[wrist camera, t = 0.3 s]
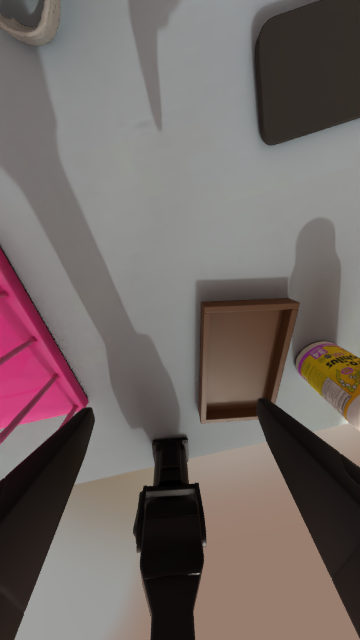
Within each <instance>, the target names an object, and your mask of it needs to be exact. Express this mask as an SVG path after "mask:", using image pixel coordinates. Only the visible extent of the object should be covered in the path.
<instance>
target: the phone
mask: <svg viewBox="0 0 360 640" xmlns="http://www.w3.org/2000/svg"><path fill="white" fill-rule="evenodd" d="M255 62H256V77H257V92H258V106H259V120H260V132H261V137H262V140H263V141H264V143H265V144H267V145H276V144H279V143H282V142H285V141H288V140H292V139H295V138H298V137H301V136H304V135H308V134H310V133H314V132H317V131H320V130H323V129H326V128H329V127H332V126H336V125H339V124H342V123H345V122H348V121H351V120H354V119H358V118H360V0H320V1H317V2H314V3H311V4H308V5H306V6H303V7H300V8H297V9H294V10H291V11H288V12H285V13H283V14H280V15H277V16H274V17H272V18H270V19H269V20H268V21H267V22H266V23H265V24H264V25H263V27H262V29H261V32H260V34H259V36H258V39H257V42H256V47H255Z"/></svg>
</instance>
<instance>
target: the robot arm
mask: <svg viewBox="0 0 360 640" xmlns="http://www.w3.org/2000/svg"><path fill="white" fill-rule="evenodd" d="M256 413H257V416H258V419H259V422H260V424H261V427H262V430H263V433H264V435H265V438H266V441H267V443H268V445H269V448H270V450H271V452H272V454H273V456H274V458H275V460H276V462H277V465H278V467H279V469H280V471H281V473H282V475H283V477H284V479H285V481H286V484H287V486H288V488H289V490H290V492H291V494H292V496H293V498H294V500H295V503H296V505H297V507H298V509H299V511H300V513H301V515H302V517H303V519H304V522H305V524H306V526H307V528H308V530H309V532H310V534H311V536H312V538H313V541H314V543H315V545H316V547H317V549H318V551H319V553H320V555H321V557H322V560H323V562H324V564H325V566H326V568H327V570H328V572H329V574H330V576H331V578H332V581H333V583H334V585H335V587H336V589H337V591H338V594H339V596H340V598H341V600H342V602H343V604H344V606H345V608H346V611H347V613H348V615H349V617H350V619H351V621H352V623H353V625H354V627H355V630H356V632H357V634H358V636H359V638H360V467H359V466H357V465H356V464H354V463H353V462H352V461H350V460H349V459H348V458H346V457H345V456H344V455H342V454H340V453H339V452H338V451H337V450H336V449H334V448H333V447H331V446H330V445H329V444H327V443H326V442H325V441H323V440H322V439H321V438H319V437H318V436H317V435H315V434H314V433H313V432H311V431H310V430H309V429H307V428H306V427H305V426H303V425H302V424H301V423H299V422H298V421H297V420H295V419H294V418H293V417H291V416H290V415H289V414H287V413H286V412H285V411H283V410H282V409H281V408H279V407H278V406H277V405H275V404H274V403H273V402H271V401H270V400H269V399H267V398H259V399H258V401H257V406H256ZM94 422H95V417H94V414H93V410H92V408H91V407H86V408H82V409H81V410H80V411H79V412H78V413H76V414H75V415H74V416H73V417H72V418H71V419H70V420H69V421H67V422H66V423H65V424H64V425H63V426H62V427H61V428H60V429H58V430H57V431H56V432H55V433H54V434H53V435H52V436H51V437H49V438H48V439H47V440H46V441H45V442H44V443H43V444H42V445H40V446H39V447H38V448H37V449H36V450H35V451H34V452H33V453H31V454H30V455H29V456H28V457H27V458H26V459H25V460H24V461H22V462H21V463H20V464H19V465H18V466H17V467H16V468H14V469H13V470H12V471H11V472H10V473H9V474H8V475H7V476H6V477H5V478H3V479H2V480H1V481H0V640H14V639H15V636H16V634H17V631H18V628H19V626H20V623H21V621H22V618H23V616H24V612H25V610H26V607H27V605H28V602H29V600H30V597H31V594H32V592H33V589H34V587H35V584H36V581H37V579H38V576H39V574H40V571H41V569H42V566H43V563H44V561H45V558H46V556H47V553H48V550H49V548H50V545H51V543H52V540H53V537H54V535H55V532H56V530H57V527H58V524H59V522H60V519H61V517H62V514H63V512H64V509H65V506H66V504H67V501H68V498H69V496H70V493H71V491H72V488H73V486H74V483H75V481H76V478H77V475H78V473H79V470H80V468H81V465H82V462H83V460H84V457H85V454H86V451H87V447H88V444H89V440H90V437H91V433H92V430H93V426H94ZM152 447H153V455H154V462H155V469H154V484H153V486H144V487H143V491H142V492H140V495H139V503H138V510H137V514H136V519H135V523H134V529H133V534H134V536H135V538H136V544H137V553H139V552H141V556H140V570H141V578H142V584H143V588H144V592H145V596H146V600H147V604H148V608H149V612H150V616H151V620H152V622H151V640H195V631H194V616H193V611H194V607H195V602H196V598H197V593H198V589H199V584H200V580H201V574H202V569H203V564H204V554H203V547H206V528H205V520H204V519H205V518H204V512H203V506H202V500H201V494H200V489H199V483H195V484H189V480H188V468H187V462H188V439H187V438H177V439H163V440H154V441H152Z"/></svg>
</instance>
